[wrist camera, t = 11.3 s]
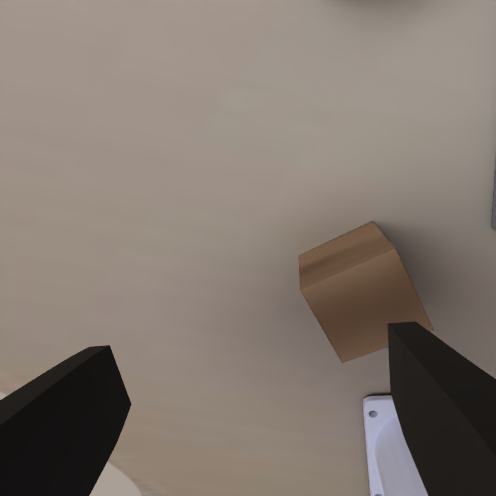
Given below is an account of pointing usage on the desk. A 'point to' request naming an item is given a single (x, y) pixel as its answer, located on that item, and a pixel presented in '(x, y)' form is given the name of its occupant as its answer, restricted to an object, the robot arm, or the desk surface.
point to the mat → (494, 204)
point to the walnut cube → (359, 291)
